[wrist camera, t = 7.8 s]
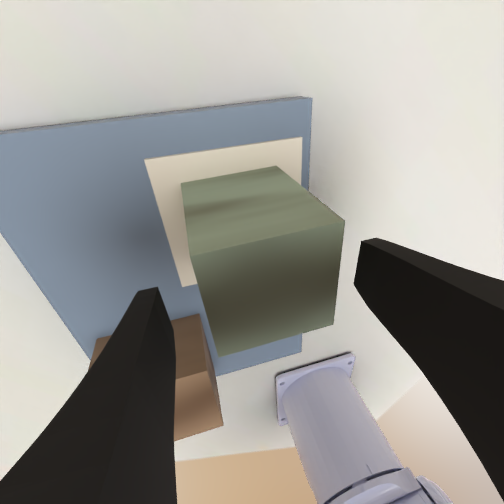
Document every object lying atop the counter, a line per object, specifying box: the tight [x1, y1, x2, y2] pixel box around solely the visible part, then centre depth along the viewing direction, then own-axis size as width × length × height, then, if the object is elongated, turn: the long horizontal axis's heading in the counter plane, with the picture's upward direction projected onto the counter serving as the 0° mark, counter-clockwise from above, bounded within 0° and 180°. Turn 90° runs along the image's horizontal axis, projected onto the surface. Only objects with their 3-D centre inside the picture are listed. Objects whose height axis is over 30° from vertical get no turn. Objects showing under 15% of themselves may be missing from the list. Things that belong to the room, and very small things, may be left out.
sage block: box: [181, 166, 345, 358], centre depth 11 cm, size 4×4×6 cm
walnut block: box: [88, 314, 223, 441], centre depth 16 cm, size 6×6×4 cm
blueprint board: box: [0, 96, 312, 376], centre depth 16 cm, size 18×14×1 cm
